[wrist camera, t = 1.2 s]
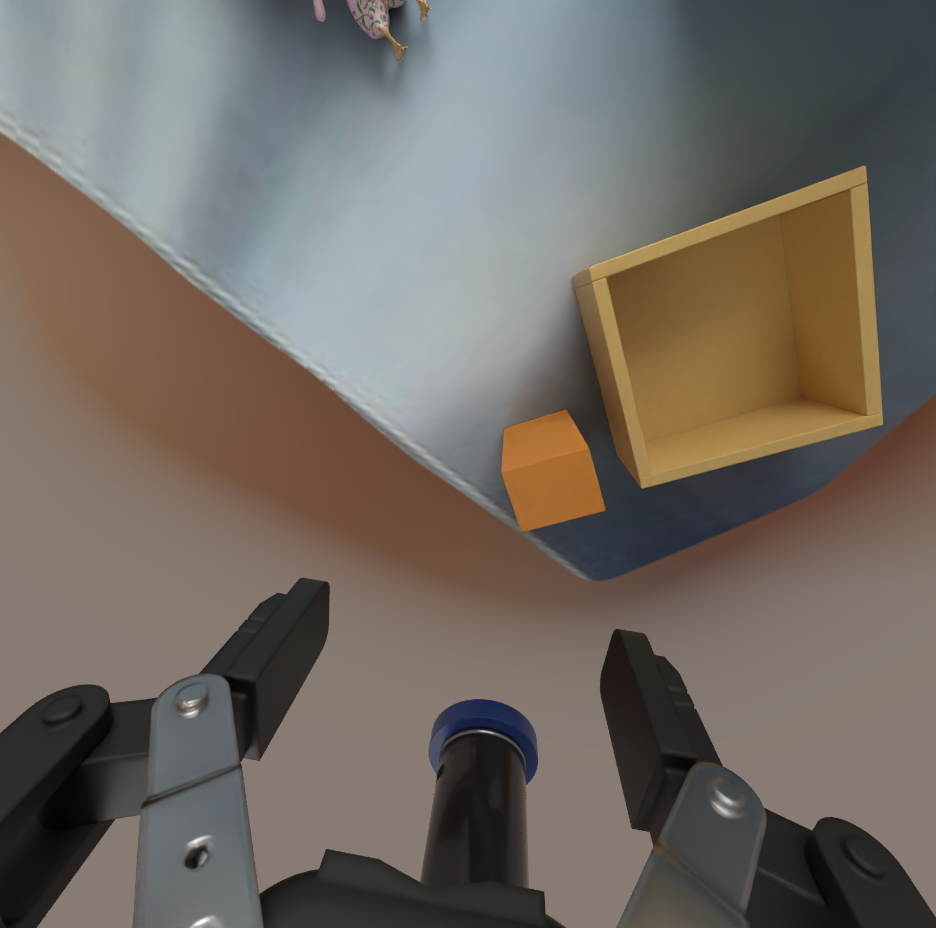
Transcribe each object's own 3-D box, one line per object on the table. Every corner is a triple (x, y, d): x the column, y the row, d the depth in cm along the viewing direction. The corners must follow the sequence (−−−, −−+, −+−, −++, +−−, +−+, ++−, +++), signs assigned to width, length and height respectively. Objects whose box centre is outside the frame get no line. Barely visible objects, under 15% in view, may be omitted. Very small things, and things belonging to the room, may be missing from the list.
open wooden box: (807, 402, 31) (883, 425, 25) (617, 456, 34) (641, 489, 28) (784, 198, 28) (867, 164, 21) (571, 277, 30) (588, 267, 24)
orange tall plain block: (580, 456, 34) (606, 511, 25) (518, 474, 35) (521, 533, 26) (566, 408, 33) (588, 446, 24) (503, 428, 34) (500, 472, 25)
